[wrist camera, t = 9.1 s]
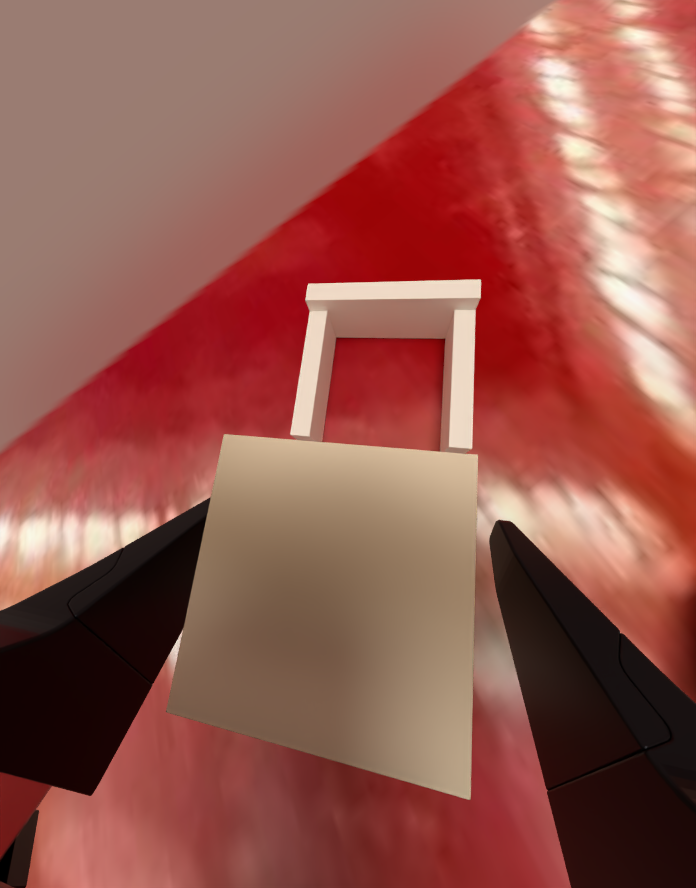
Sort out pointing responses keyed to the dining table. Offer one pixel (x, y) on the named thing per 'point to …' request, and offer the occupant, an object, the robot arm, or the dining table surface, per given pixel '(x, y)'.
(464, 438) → the white angular bracket
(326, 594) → the birch block
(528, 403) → the dining table surface
